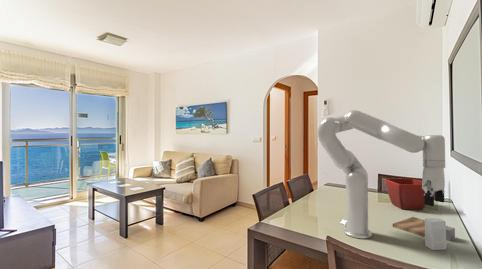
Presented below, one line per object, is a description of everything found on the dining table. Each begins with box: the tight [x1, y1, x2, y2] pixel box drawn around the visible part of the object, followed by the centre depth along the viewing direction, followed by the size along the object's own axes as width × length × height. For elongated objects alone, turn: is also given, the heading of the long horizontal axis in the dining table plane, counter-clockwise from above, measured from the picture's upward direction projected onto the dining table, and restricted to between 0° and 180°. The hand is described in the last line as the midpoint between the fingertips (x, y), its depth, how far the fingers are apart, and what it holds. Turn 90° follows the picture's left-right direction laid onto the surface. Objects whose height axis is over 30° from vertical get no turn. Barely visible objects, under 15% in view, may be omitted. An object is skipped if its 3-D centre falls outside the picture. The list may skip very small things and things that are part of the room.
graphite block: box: [446, 225, 456, 242], centre depth 111 cm, size 5×5×5 cm
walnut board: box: [392, 216, 425, 238], centre depth 123 cm, size 16×20×2 cm
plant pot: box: [384, 178, 426, 211], centre depth 158 cm, size 19×19×17 cm
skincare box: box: [424, 217, 447, 251], centre depth 102 cm, size 6×4×12 cm
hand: (434, 203), depth 103 cm, fingers open, 9 cm apart
